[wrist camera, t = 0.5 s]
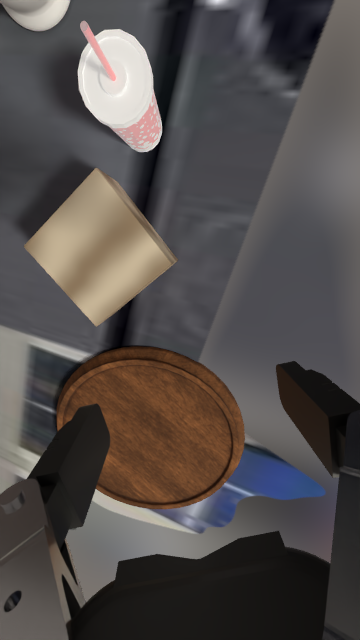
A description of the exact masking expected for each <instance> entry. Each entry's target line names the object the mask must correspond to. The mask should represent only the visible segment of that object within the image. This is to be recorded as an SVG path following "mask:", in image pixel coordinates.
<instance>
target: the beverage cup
mask: <svg viewBox="0 0 360 640" xmlns="http://www.w3.org/2000/svg"><path fill="white" fill-rule="evenodd" d="M80 27H81V30H82V31H83V33H84V35H85V37H86V38H87V40H88V42H89V43H88V44H87V46H86V47H85V49H84V51H83V52H82V54H81V59H80V63H79V67H78V82H79V91H80V93H81V96H82V98H83V101H84V103H85V105H86V107H87V108H88V109H89V110H90V112H91V113H92V114H93V115H94V116H95V117H96V118H97V119H98V120H99V121H100V122H101V123H103V124H105V125H107V126H109V127H110V128H111V129H112V130H113V131H114V132H115V133H116V134H118V135H119V136H120V137H121V138H122V139H123V140H124V141H125V142H126V143H127V144H128V145H129V146H130V147H131V148H132V149H134V150H136V151H138V152H147V151H149V150H151V149H153V148H154V147H155V146H156V145H157V144H158V142H159V140H160V137H161V134H162V122H161V118H160V114H159V110H158V106H157V102H156V98H155V94H154V90H153V74H152V69H151V66H150V63H149V60H148V57H147V55H146V52H145V50H144V48H143V47H142V46H141V45H140V43H139V42H138V41H137V40H136V38H135V37H134V36H132V35H130V34H128V33H126V32H124V31H122V30H120V29H117V30H104V31H102V32H101V33H99V34H98V35H96V36H95V37H94V35H93V33H92V31H91V30H90V28H89V26H88V24H87V22H86V21H82V22H81V24H80Z"/></svg>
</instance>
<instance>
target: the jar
mask: <svg viewBox="0 0 360 640" xmlns="http://www.w3.org/2000/svg"><path fill="white" fill-rule="evenodd" d="M0 3H1V4H2V5H3V7H4V8H5V10H6V11H7V13H8V14H9V15H10V16H11V17H12V18H13V19H14V20H15V21H16V22H17V23H18V24H20V25H21V26H23V27H24V28H26V29H29V30H33V31H45V30H48V29H50V28H52V27H54V26H55V25H57V24H58V23H59V22H60V20H61V19H62V18H63V16H64V15H65V13H66V11H67V9H68V6H69V3H70V0H0Z"/></svg>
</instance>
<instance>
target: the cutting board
mask: <svg viewBox="0 0 360 640" xmlns="http://www.w3.org/2000/svg"><path fill="white" fill-rule="evenodd" d="M96 403H97V404H98V405H99V406H100V408H101V411H102V413H103V416H104V419H105V422H106V424H107V427H108V430H109V433H110V447H109V450H108V453H107V456H106V459H105V462H104V465H103V468H102V471H101V474H100V477H99V480H98V483H97V486H96V489H97V490H98V491H100V492H101V493H103V494H105V495H107V496H109V497H111V498H113V499H115V500H117V501H120V502H123V503H126V504H129V505H133V506H137V507H142V508H149V509H172V508H180V507H184V506H188V505H191V504H194V503H197V502H199V501H202V500H203V499H205V498H207V497H209V496H211V495H212V494H213V493H215V492H216V491H217V490H218V489H220V488H221V487H222V485H223V484H224V483H225V482H226V481H227V480H228V478H229V477H230V476H231V475H232V474H233V472H234V471H235V469H236V467H237V466H238V464H239V461H240V459H241V456H242V453H243V447H244V440H245V435H244V424H243V419H242V416H241V412H240V409H239V407H238V404H237V402H236V400H235V398H234V396H233V395H232V393H231V392H230V390H229V389H228V387H227V386H226V385H225V384H224V382H223V381H222V380H221V379H220V378H219V377H217V375H216V374H215V373H213V372H212V371H211V370H210V369H208V368H207V367H206V366H204V365H203V364H201V363H200V362H198V363H197V362H195V361H194V360H192V359H190V358H188V357H186V356H183V355H181V354H178V353H175V352H173V351H169V350H164V349H160V348H155V347H141V346H137V347H123V348H119V349H114V350H110V351H107V352H104V353H102V354H100V355H97V356H95V357H93V358H92V359H90V360H89V361H87V362H85V363H84V364H82V365H81V366H80V367H79V368H78V369H77V370H76V371H75V372H74V373H73V374H72V375H71V377H70V378H69V379H68V381H67V382H66V384H65V385H64V387H63V390H62V392H61V394H60V396H59V401H58V405H57V418H56V421H57V430H58V431H59V430H60V429H61V428H62V427H63V426H64V425H65V424H66V423H67V422H68V421H71V419H72V418H73V416H74V414H75V413H76V411H77V410H78V408H79V407H82V406H86V405H91V404H96Z"/></svg>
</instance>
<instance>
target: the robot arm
mask: <svg viewBox="0 0 360 640" xmlns="http://www.w3.org/2000/svg"><path fill="white" fill-rule="evenodd" d="M276 372H277V380H278V388H279V395H280V400H281V403H282V405H283V408H284V410H285V411H286V413H287V414H288V415H289V417H290V418H291V420H292V421H293V422H294V424H295V425H296V427H297V428H298V429H299V431H300V432H301V434H302V435H303V437H304V438H305V439H306V441H307V442H308V443H309V445H310V446H311V448H312V449H313V451H314V452H315V454H316V455H317V456H318V458H319V459H320V460H321V462H322V463H323V465H324V466H325V468H326V469H327V470H328V472H329V473H330V475H331V476H332V478H336V477H339V484H338V495H337V504H336V513H335V523H334V533H333V544H332V553H331V564H330V563H329V562H327V561H325V560H323V559H321V558H319V557H317V556H315V555H313V554H310V553H308V552H305V551H302V550H298V549H294V548H290V547H285V546H284V543H283V540H282V538H281V535H280V533H279V531H275V532H270V533H265V534H260V535H254V536H250V537H244V538H239V539H237V540H235V541H233V542H231V543H229V544H228V545H226V546H224V547H222V548H220V549H218V550H216V551H214V552H213V553H211V554H209V555H207V556H205V557H203V558H201V559H188V558H182V557H175V556H167V555H160V554H155V555H150V556H144V557H140V558H134V559H129V560H123V561H119V562H118V567H117V573H116V578H115V580H114V581H112V582H110V583H109V584H108V585H106V586H105V587H103V588H102V589H101V590H99V591H98V592H97V593H96V594H95V595H94V596H92V597H91V598H90V599H89V600H88V602H86V601H85V598H84V595H83V592H82V588H81V585H80V582H79V579H78V575H77V572H76V569H75V565H74V562H73V559H72V555H71V552H70V549H69V545H68V543H67V541H66V539H65V538H66V535H67V533H68V530H69V529H72V528H77V527H82V526H83V524H84V521H85V518H86V515H87V512H88V509H89V507H90V504H91V501H92V498H93V495H94V492H95V489H96V486H97V483H98V480H99V477H100V474H101V471H102V468H103V465H104V462H105V459H106V456H107V453H108V450H109V447H110V433H109V430H108V427H107V424H106V422H105V419H104V416H103V413H102V411H101V408H100V406H99V405H98V404H97V403H96V404H91V405H86V406H82V407H79V408H78V410H77V411H76V413H75V414H74V416H73V418H72V419H71V421H68V422H67V423H66V424H65V425H64V426H63V427H62V428H61V429H60V430H59V431H58V432H57V434H56V435H55V437H54V438H53V440H52V442H51V443H50V444H49V446H48V447H47V450H46V451H45V452H44V453H43V455H42V456H41V458H40V459H39V461H38V463H37V464H36V466H35V467H34V469H33V470H32V472H31V473H30V475H29V476H28V478H27V479H25V480H22V481H20V482H17V483H15V484H14V485H12V486H10V487H9V488H8V489H6V490H5V491H4V492H3V493H1V494H0V640H360V404H359V403H358V402H357V401H356V400H355V399H353V398H352V397H351V396H350V395H348V394H347V393H346V392H345V391H343V390H342V389H340V388H339V387H338V386H337V385H336V384H335V383H332V381H331V380H330V379H328V378H327V377H326V376H325V375H323V374H321V373H318V372H316V371H313V370H305V369H303V368H302V367H301V366H300V365H299V364H298V363H297V362H295V361H292V362H288V363H282V364H278V365H277V366H276Z"/></svg>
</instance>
